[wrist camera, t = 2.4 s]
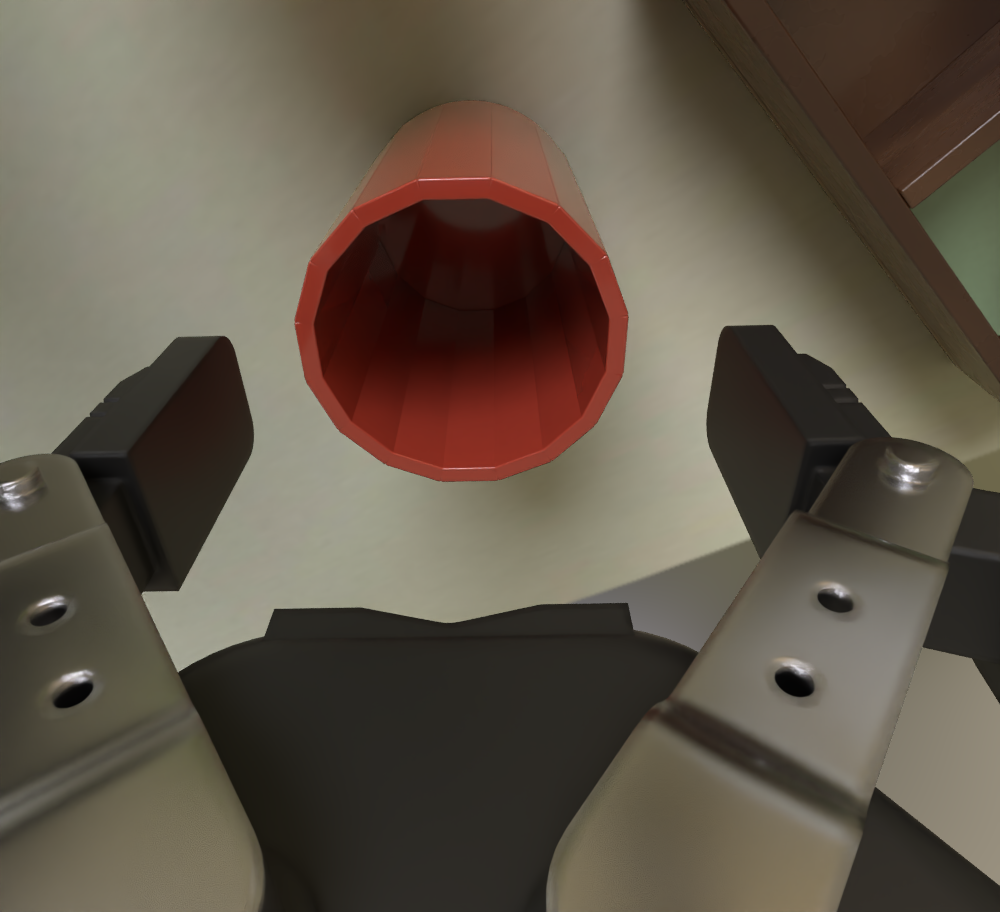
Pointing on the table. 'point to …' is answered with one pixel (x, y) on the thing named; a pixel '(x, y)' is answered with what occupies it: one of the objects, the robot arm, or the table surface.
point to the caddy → (893, 139)
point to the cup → (463, 301)
